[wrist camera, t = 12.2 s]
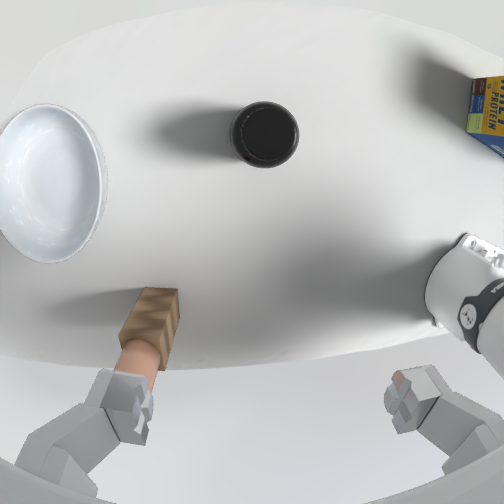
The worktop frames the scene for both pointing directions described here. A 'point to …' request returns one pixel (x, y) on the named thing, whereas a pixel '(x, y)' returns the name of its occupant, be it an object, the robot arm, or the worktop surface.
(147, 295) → the block bottom
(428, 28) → the worktop surface
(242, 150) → the supplement bottle
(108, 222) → the worktop surface
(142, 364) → the cylinder
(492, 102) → the protein box
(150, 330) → the block top
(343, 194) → the worktop surface
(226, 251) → the worktop surface
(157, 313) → the block middle
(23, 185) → the serving bowl
